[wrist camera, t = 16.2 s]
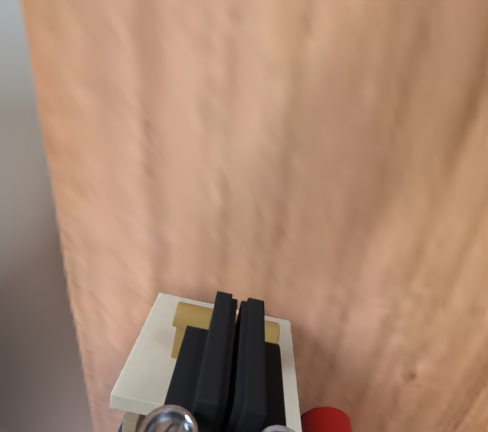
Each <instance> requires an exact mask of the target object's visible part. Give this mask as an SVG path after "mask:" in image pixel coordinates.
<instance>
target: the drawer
mask: <svg viewBox="0 0 488 432" xmlns="http://www.w3.org/2000/svg"><path fill="white" fill-rule="evenodd" d="M213 308H214V304H210V303H206V302H201V301H197V300H192V299H187V298H183V297H178V296H174V295H169V294H164V293H159V294H158V296H157V298H156V300H155V303H154V305H153V307H152V309H151V311H150V313H149V315H148V317H147V319H146V321H145V323H144V325H143V328H142V330H141V332H140V334H139V336H138V338H137V340H136V342H135V344H134V346H133V348H132V351H131V353H130V355H129V357H128V359H127V361H126V363H125V365H124V367H123V369H122V371H121V374H120V376H119V378H118V380H117V382H116V384H115V386H114V388H113V390H112V392H111V397H110V408H112V409H117V410H122V411H127V412H126V415H125V417H124V420H123V425H122V432H137V430H138V428H139V426H140V424H141V423H142V421H143V420H144V419H145V417H146V416H147V415H148V414H149V413H150V412H151V411H153V410H154V409H156V408H158V407H160V406H163V405H164V402H165V398H166V395H167V392H168V388H169V385H170V381H171V378H172V375H173V371H174V368H175V364H176V361H177V357H178V354H179V351H180V347H181V344H182V340H183V337H184V334H185V330H186V327H187V325H188V326H193V327H198V328H203V329H209V324H210V320H211V316H212V312H213ZM238 312H239V310H238V309H237V311H236V319H237V316H238ZM235 323H236V322H235ZM265 341H266V342H271V343H275V344H279V346H280V351H281V364H282V376H283V389H284V401H285V414H286V426H287V427H288V428H290V429H292V430H294V431H295V432H302V427H301V418H300V409H299V399H298V390H297V381H296V371H295V362H294V353H293V343H292V334H291V325H290V321H288V320H284V319H279V318H275V317H270V316H265Z"/></svg>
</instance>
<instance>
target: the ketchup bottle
mask: <svg viewBox="0 0 488 432" xmlns="http://www.w3.org/2000/svg"><path fill="white" fill-rule="evenodd" d="M301 427H302V432H352V428H351V424H350V420H349V418H348V416H347V415H346V414H345V413H343V412H342V411H340V410H338V409H334V408H327V407H323V408H316V409H313V410H310V411H308V412H307V413H306V414H304V416H303V417H302V419H301Z"/></svg>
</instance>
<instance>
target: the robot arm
mask: <svg viewBox="0 0 488 432" xmlns="http://www.w3.org/2000/svg"><path fill="white" fill-rule="evenodd" d="M236 311H237V300H236V299H232V294H228V293H224V292H219V291H217V295H216V299H215V303H214V308H213V312H212V316H211V320H210V324H209V329H203V328H198V327H193V326H188V325H187V327H186V330H185V334H184V337H183V340H182V344H181V347H180V351H179V354H178V357H177V361H176V364H175V368H174V371H173V375H172V378H171V381H170V385H169V388H168V392H167V395H166V398H165V402H164V405H163V406H160V407H158V408H156V409H154V410H153V411H151V412H150V413H149V414H148V415H147V416H146V417H145V419H144V420H143V421H142V423H141V424H140V426H139V428H138V430H137V432H295V431H294V430H292V429H290V428H288V427H287V426H286V414H285V401H284V389H283V376H282V364H281V351H280V346H279V344H275V343H271V342H266V341H265V314H264V301H261V300H257V299H252V298H248V300H247V302H246V301H242V302H241V305H240V309H239V312H238V316H237V319H236ZM235 322H236V323H235Z"/></svg>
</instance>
